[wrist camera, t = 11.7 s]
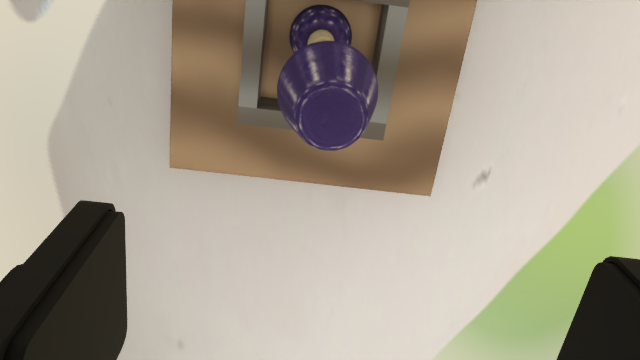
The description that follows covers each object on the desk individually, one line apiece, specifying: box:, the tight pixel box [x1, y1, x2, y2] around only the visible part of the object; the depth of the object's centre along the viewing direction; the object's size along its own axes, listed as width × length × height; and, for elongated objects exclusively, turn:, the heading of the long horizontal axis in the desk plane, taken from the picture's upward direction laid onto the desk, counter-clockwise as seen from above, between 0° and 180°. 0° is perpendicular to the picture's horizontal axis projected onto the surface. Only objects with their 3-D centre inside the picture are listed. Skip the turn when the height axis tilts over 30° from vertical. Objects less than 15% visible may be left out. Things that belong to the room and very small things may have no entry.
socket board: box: [170, 0, 477, 196], centre depth 35 cm, size 20×20×4 cm
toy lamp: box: [277, 5, 378, 151], centre depth 28 cm, size 5×5×17 cm
